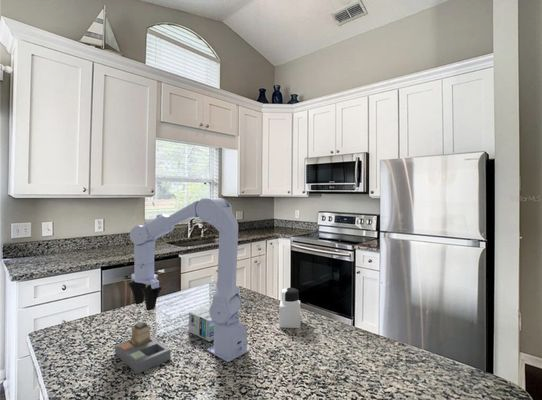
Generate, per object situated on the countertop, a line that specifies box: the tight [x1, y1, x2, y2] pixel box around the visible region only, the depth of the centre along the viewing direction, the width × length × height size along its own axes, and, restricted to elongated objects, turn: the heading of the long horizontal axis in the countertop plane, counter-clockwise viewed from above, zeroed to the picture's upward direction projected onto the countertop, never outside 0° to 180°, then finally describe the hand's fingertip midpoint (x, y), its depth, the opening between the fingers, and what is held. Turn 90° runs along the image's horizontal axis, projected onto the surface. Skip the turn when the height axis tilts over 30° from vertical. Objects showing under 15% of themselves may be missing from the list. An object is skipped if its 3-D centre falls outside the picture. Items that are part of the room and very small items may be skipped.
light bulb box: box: [188, 304, 214, 342], centre depth 96 cm, size 11×7×11 cm
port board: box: [114, 335, 172, 375], centre depth 81 cm, size 14×9×3 cm, turn 49°
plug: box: [131, 321, 151, 348], centre depth 85 cm, size 3×3×7 cm
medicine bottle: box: [278, 287, 301, 329], centre depth 102 cm, size 7×7×12 cm
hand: (144, 306), depth 92 cm, fingers open, 7 cm apart
